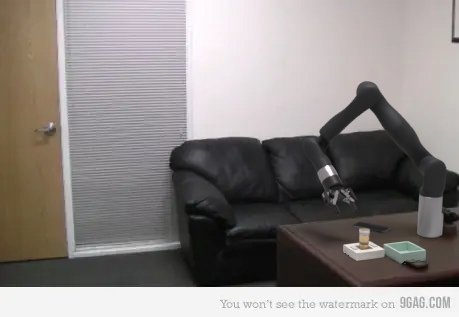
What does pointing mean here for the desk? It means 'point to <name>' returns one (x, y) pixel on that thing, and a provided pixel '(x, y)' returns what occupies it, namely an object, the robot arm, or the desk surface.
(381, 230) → the phone
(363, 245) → the white and tan cylinder
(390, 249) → the parts tray
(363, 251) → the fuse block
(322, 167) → the robot arm
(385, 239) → the desk surface
